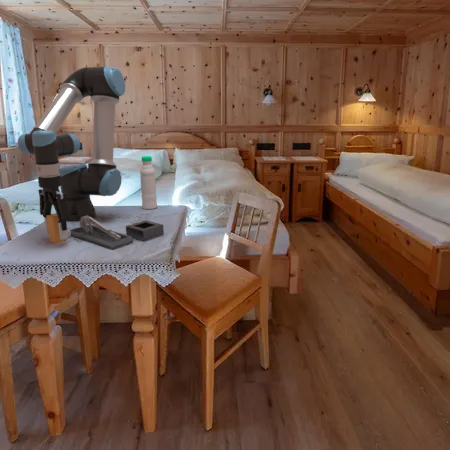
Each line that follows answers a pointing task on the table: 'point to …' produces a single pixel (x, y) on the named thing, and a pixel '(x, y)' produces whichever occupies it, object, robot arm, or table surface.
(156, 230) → the socket
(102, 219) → the table surface
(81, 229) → the tray
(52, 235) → the tan rectangular block
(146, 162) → the water bottle
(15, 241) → the table surface
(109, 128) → the robot arm
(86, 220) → the bracket
